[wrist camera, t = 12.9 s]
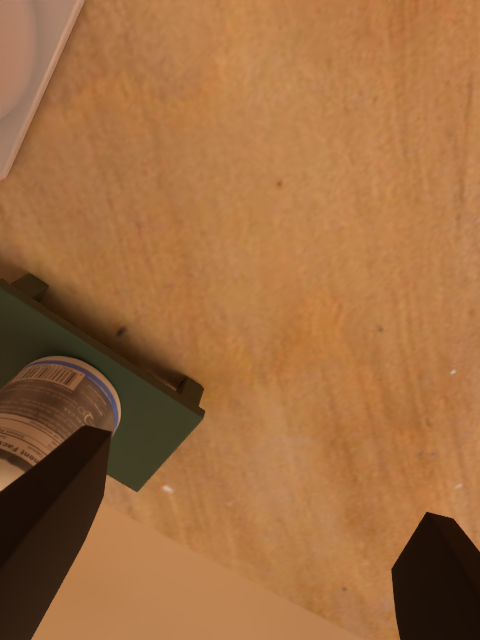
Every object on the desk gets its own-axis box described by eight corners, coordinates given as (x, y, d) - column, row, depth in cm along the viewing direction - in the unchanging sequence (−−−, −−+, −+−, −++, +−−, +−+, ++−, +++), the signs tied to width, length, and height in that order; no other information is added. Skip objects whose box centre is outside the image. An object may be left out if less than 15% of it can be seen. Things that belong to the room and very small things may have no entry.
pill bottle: (85, 458, 20) (-38, 663, 13) (-1, 397, 19) (-191, 580, 12) (146, 402, 18) (45, 601, 11) (55, 330, 17) (-127, 495, 10)
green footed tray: (-21, 354, 21) (-55, 380, 19) (25, 264, 19) (-8, 282, 17) (150, 459, 23) (137, 493, 21) (212, 388, 21) (203, 419, 18)
